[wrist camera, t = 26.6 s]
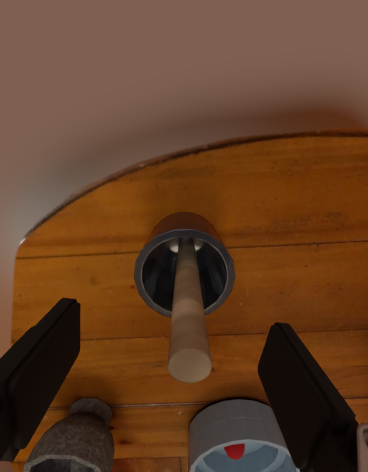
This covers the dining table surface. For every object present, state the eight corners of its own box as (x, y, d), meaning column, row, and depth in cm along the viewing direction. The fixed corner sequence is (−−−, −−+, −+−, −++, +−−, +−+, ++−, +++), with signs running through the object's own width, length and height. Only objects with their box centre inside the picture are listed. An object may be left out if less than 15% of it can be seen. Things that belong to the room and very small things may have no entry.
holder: (146, 273, 23) (130, 313, 16) (153, 206, 21) (138, 221, 14) (212, 282, 23) (223, 325, 17) (225, 217, 21) (245, 236, 14)
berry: (225, 456, 29) (228, 467, 26) (218, 429, 30) (221, 437, 28) (245, 449, 29) (250, 460, 27) (237, 423, 31) (242, 430, 28)
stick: (177, 253, 22) (165, 381, 8) (179, 237, 21) (169, 346, 8) (193, 255, 22) (208, 385, 8) (195, 239, 21) (215, 351, 8)
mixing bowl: (182, 454, 32) (181, 503, 27) (196, 390, 28) (199, 434, 23) (268, 463, 33) (282, 512, 28) (294, 401, 29) (316, 446, 24)
